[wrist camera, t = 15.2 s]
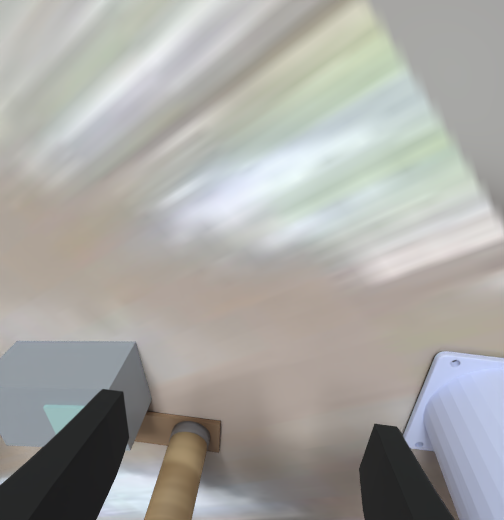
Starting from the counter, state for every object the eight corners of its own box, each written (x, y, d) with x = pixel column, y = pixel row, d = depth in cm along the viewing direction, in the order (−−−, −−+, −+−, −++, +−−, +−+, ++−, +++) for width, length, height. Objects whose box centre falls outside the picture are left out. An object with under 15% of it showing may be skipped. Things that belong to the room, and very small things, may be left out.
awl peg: (209, 448, 26) (189, 544, 21) (172, 443, 27) (143, 537, 21) (210, 423, 25) (189, 519, 20) (171, 418, 25) (140, 511, 20)
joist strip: (220, 420, 25) (220, 424, 25) (219, 448, 27) (218, 452, 27) (-2, 391, 26) (-5, 395, 26) (8, 420, 28) (5, 423, 27)
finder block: (136, 339, 23) (107, 392, 19) (152, 396, 25) (128, 453, 22) (19, 339, 24) (-31, 389, 20) (44, 394, 26) (4, 448, 23)
